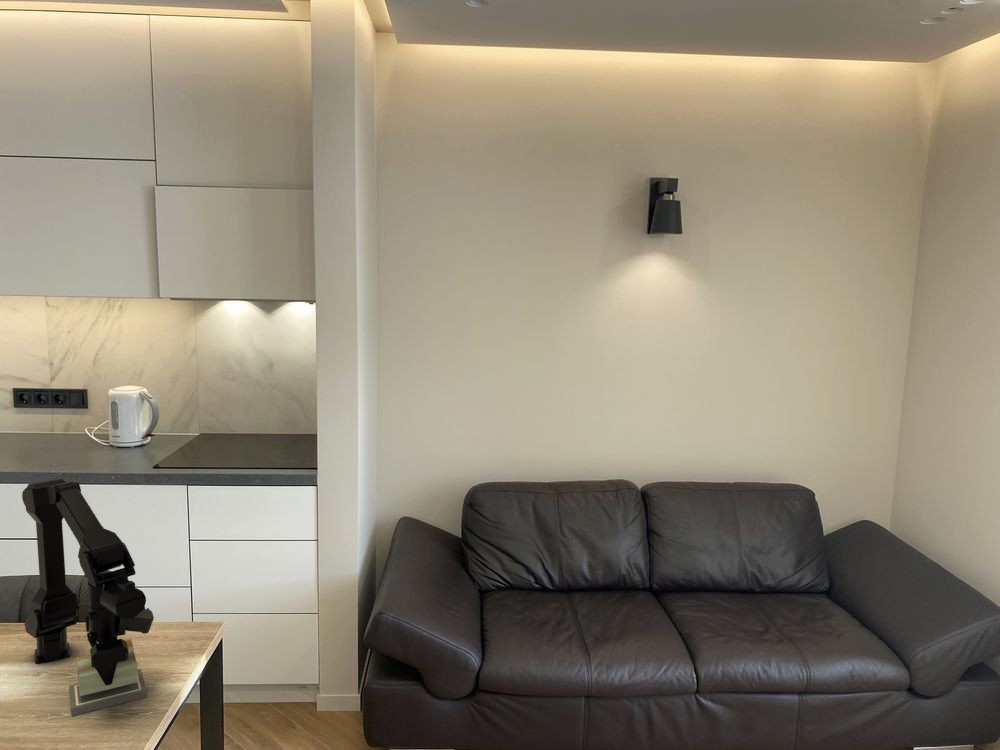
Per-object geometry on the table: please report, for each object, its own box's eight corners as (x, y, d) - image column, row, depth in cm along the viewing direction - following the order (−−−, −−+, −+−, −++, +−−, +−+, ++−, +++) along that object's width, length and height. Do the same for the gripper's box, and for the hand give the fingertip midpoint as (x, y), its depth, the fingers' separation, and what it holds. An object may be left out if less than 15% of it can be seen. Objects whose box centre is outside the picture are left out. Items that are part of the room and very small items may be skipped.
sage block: (77, 679, 143) (77, 661, 143) (133, 666, 149) (133, 648, 148) (79, 696, 138) (79, 676, 137) (137, 682, 143) (137, 663, 143)
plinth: (69, 692, 144) (69, 685, 143) (141, 675, 151) (140, 668, 151) (71, 716, 136) (71, 708, 136) (146, 697, 143) (146, 689, 143)
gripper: (156, 613, 138) (158, 688, 140) (144, 577, 153) (145, 645, 155) (90, 626, 132) (93, 704, 134) (84, 587, 147) (86, 658, 149)
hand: (107, 676), depth 143 cm, fingers closed on sage block, 6 cm apart
